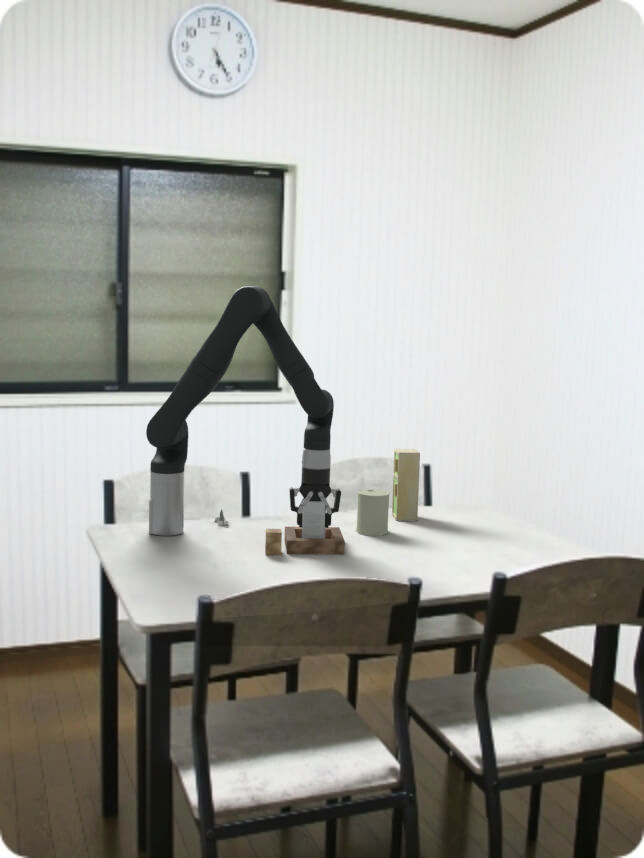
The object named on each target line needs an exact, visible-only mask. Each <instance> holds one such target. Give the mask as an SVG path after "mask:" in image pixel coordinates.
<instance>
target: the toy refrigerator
mask: <svg viewBox="0 0 644 858" xmlns="http://www.w3.org/2000/svg"><path fill="white" fill-rule="evenodd" d="M420 461H421V453H420V451H419V450H417V449H415V448H394V450H393V472H392V473H393V474H392V500H391V501H392V502H391V503H392V504H391V515H392V517H393V518H394V519H395V520H396V522H397V521H401V522H403V521H405V522H406V521H408V522H409V521H411V522H412V521H414V522H416V521H418V519H419V518H418V517H419V516H418V514H419V512H418V511H419V490H420V489H419V488H420V465H421V462H420Z"/></svg>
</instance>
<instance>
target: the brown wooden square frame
mask: <svg viewBox="0 0 644 858" xmlns="http://www.w3.org/2000/svg"><path fill="white" fill-rule="evenodd" d="M284 545H285V550H286V551H285V552H286V554H289V555H291V554H293V555H345V549H346V548H345V547H346V541H345V538H344V536H343V533H342V530H341V528H340V527H338V526H329V527H328V528H326V527H325V539H317V538H302V527H299V526H284Z"/></svg>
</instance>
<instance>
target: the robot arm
mask: <svg viewBox="0 0 644 858" xmlns="http://www.w3.org/2000/svg"><path fill="white" fill-rule="evenodd" d="M252 325H254V326H255V327H256V328H257V330H258V331H259V332H260V333H261V335H262V336H263V338H264V340H265V342H266V344H267V345H268V348H269V349H270V353H271V355H272V357H273V360H274V362H275V363H276V365H277V367H278V370H280V372H281V374H282V376H283V377H284V378H285V380H286V381H287V383H288V384H289V385H290V386H291V388H292V390H293V392H294V395H295V397H296V398H297V402H298V403H299V405H300V407H301V408H302V410H303V411H304V412H305V413H306V415H307V423H306V424H307V425H306V427H305V429H304V432H303V433H304V434H303V450H302V456H301V457H302V459H301V479H300V481H301V483H300V486H299V487H295V488H294V487H292V486H291V487H290V488H289V490H288V492H289V503H290V504H289V507H290V511H291V512H295V513H296V525H297V526H298V527H302V507H303V506H305V507H306V505H307V502H309V501H322V502H325V509H326V521H325V527H326V528H328V527H331V525H332V515H333V514H334V513H339V510H340V503H341V497H342V491H341V489H340V488H331V485H330V482H331V462H332V461H331V459H332V457H331V428H332V425H333V424H332V423H333V417H334V408H335V404H334V398H333V396H332V394H331V393H330V392H329V391H328V390H326V389H323V388H321V387H320V385H319V384H318V381H317V380H316V379H315V373H314V371H313V369H312V368H311V367H310V365H309V363H308V362H307V360H306V359H305V357H304V356H303V354H302V353H301V351H300V350H299V348H298V347H297V345H296V344H295V343H294V340H293V339H292V337H291V336H290V334H289V332H288V331H287V329H286V328H285V326H284V324H283V322H282V320H281V318H280V316H279V314H278V312H277V310H276V308H275V305H274V303H273V302H272V298H271V297H270V295H269V293H268V292H267V290H265V289H264V288H262V287H260V286H257V285H246V286H241V287H240V288H238V289H237V290H235V291H234V293H233V294H232V295H231V298H230V299H229V301H228V304H227V305H226V307H225V309H224V311H223V313H222V315H221V317H220V319H219V320H218V323H217V324H216V325H215V327H214V328H213V330H212V331H211V332H210V334H209V335H208V336H207V337H206V339H205V340H204V341H203V343H202V344H201V346H200V348H199V349H198V351H197V352H196V353H195V355H194V356H193V357H192V359H191V361H190V362H189V364H188V366H187V367H186V369H185V371H184V372H183V374H182V375H181V377H180V378H179V380H178V381H177V383H176V384H175V386H174V388H173V390H172V391H171V394H170V395H169V396H168V398H167V399H166V400H165V402H164V403H163V404H162V405H161V407H159V409H158V410H157V411H156V412H155V414H154V415H153V416H152V417H151V419H150V420H149V421H148V424H147V426H146V432H145V435H146V439H147V441H148V443H149V444H150V445H151V446H153V447H154V448H156V449H155V450H156V451H155V454H154V456H153V458H152V460H151V461H150V467H149V468H150V470H149V471H150V475H149V477H150V478H149V479H150V480H149V481H150V484H149V485H150V486H149V488H150V491H149V496H150V497H149V500H148V535H155V536H163V537H164V536H166V537H167V536H178V535H181V534H183V533H184V528H185V527H184V526H185V525H184V524H185V523H184V522H185V521H184V519H185V514H184V513H185V511H184V510H185V467H186V462H187V460H188V451H189V450H188V449H189V426H188V423H187V419H188V417H189V416H190V414H191V413H192V411H193V410H194V409H195V408H196V407H197V406H198V405H199V404H200V403H202V402H203V401H204V400H205V399H206V398H207V397H208V396H209V395H210V394H211V393H212V392H213V391H214V390H215V388H216V387H217V386H218V385H219V383H220V382H221V380H222V378H223V377H224V376H225V374H226V373H227V371H228V369H229V368H230V365H231V363H232V360H233V357H234V355H235V352H236V349H237V347H238V344H239V342H240V341H241V339H242V337H243V336H244V335H245V333H246V332H247V331H248V330H249V329H250V328H251V326H252ZM299 493H300V494H301V496H302V499H301V501H300V503H299V505H298V506H296V498H295V497H297V496H298V495H299ZM330 494H332V497H333V498H334V501H333V507H332V506H330V505H329V502H328V501H327V498H328V497H329V496H330ZM303 500H304V501H303ZM305 502H306V503H305Z"/></svg>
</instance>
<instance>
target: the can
mask: <svg viewBox="0 0 644 858" xmlns="http://www.w3.org/2000/svg"><path fill="white" fill-rule="evenodd" d="M389 504H390V492H389V491H387V490H382V489H374V488H373V489H370V488H368V489H360V490H358V491H357V511H356V512H357V513H356V516H357V517H356V528H355V533H357V532H358V533H357V534H359V533H360V535H362V534H364V536H369V535H372V537H378V536H380V535H381V536H385V534H386V535H387V534H388V533H389V530H388V529H389V506H390V505H389ZM381 536H380V537H381Z"/></svg>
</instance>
